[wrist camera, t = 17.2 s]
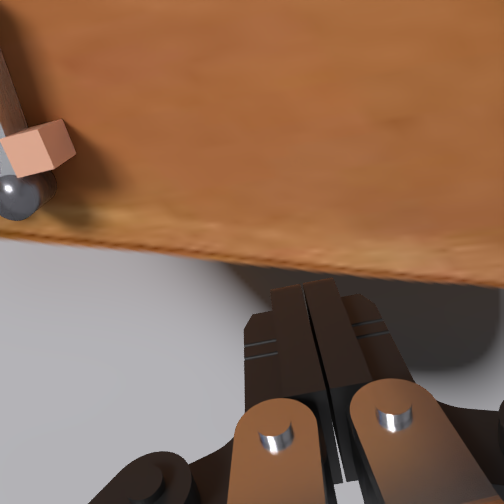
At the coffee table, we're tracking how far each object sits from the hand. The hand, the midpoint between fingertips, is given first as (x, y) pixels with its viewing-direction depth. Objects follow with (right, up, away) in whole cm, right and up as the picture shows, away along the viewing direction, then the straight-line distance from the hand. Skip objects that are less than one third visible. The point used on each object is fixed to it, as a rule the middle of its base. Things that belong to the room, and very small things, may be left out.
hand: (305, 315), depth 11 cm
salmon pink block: (-18, +11, +27) cm, 34 cm away
